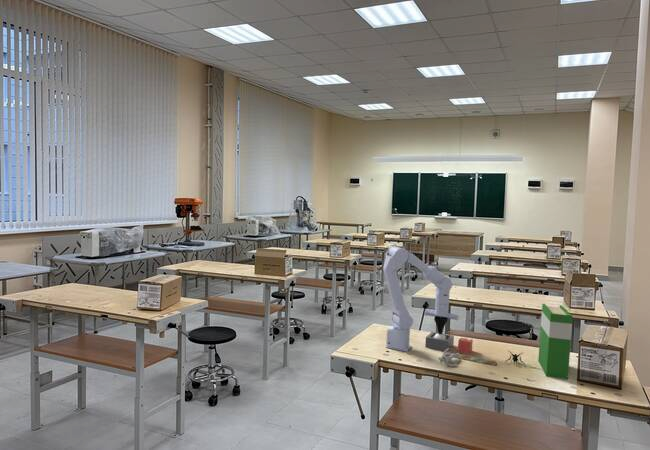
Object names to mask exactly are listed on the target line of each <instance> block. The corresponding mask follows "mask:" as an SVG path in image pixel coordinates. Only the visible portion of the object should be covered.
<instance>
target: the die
mask: <svg viewBox="0 0 650 450" xmlns="http://www.w3.org/2000/svg"><path fill="white" fill-rule="evenodd" d="M473 341H474V340H473V339H471V338H467V337H466V338H465V337H460V338H459V339H458V342H457V343H458V344H457V353H464V354H468V355H469V354H471V353H472V351H473Z"/></svg>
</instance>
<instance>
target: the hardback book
mask: <svg viewBox="0 0 650 450" xmlns="http://www.w3.org/2000/svg"><path fill="white" fill-rule="evenodd" d="M572 328H573V315H572V314H571V313H570V312H569V311H568V310H567V309H566V308H565V307H564V306H563V305H559V306H549V305H546V304H545V303H542V304H541V319H540V334H539V347H538V358H537V359H538V361H537V362H538V363H539V365H540V367H541V369H542V371H543V373H544V375H545V377H547V378H548V377H549V378H555V379H563V380H568V379H569V369H570V357H571V345H572V332H573V331H572V330H573V329H572Z"/></svg>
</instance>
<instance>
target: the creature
mask: <svg viewBox="0 0 650 450" xmlns="http://www.w3.org/2000/svg"><path fill="white" fill-rule="evenodd" d="M507 351H508V352H509V353H510V356H509V358H508V359H506V360H505V362H507V361H510V362H512V361H513V363H515V366H517V365H518V363H520V362H521V363H523V364H524V362H523V360H522V358H521V355H522V354H524V352H521V353H519V354H517V353H515V354H513V353H512V351H510V350H509V349H507ZM518 358H519V359H518ZM507 365H510V363H508V364H507ZM524 365H525V366H524V368H526V364H524ZM521 367H522V365H520V368H521Z"/></svg>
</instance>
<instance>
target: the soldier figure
mask: <svg viewBox="0 0 650 450" xmlns="http://www.w3.org/2000/svg"><path fill="white" fill-rule="evenodd" d="M449 349H450V348H448V349H446V350H445V351H443V353H442V355H441V357H438V360H439V362H440V364H442V362H444V364H445V365H446V366H448V367H459V364H458V363H459V362H462V361H463V360H464V359H459V358H454V356H458V355H459V354H460V352H457V353H454V354H451V355H450V356H445V354H446V353H447V351H448V352H449V351H450V350H451V349H450V350H449ZM453 358H454V359H453Z"/></svg>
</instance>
